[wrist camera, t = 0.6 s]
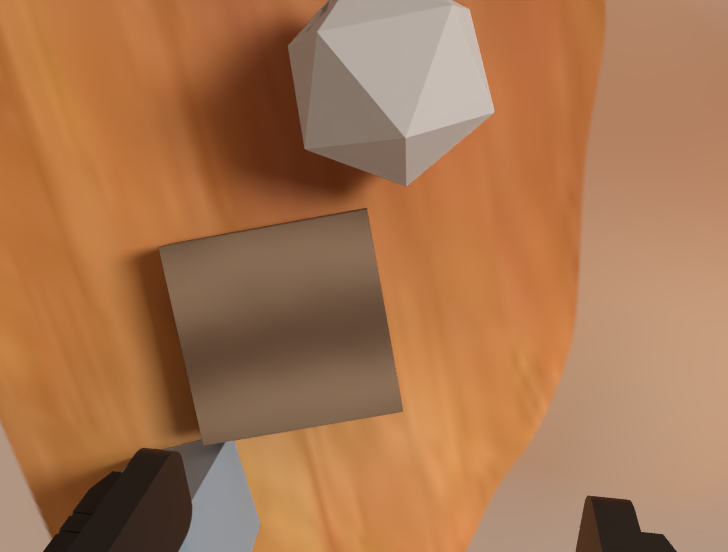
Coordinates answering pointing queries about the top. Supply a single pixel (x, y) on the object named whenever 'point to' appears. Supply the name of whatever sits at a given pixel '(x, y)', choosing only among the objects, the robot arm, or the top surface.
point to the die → (388, 83)
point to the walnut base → (282, 326)
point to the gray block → (218, 499)
